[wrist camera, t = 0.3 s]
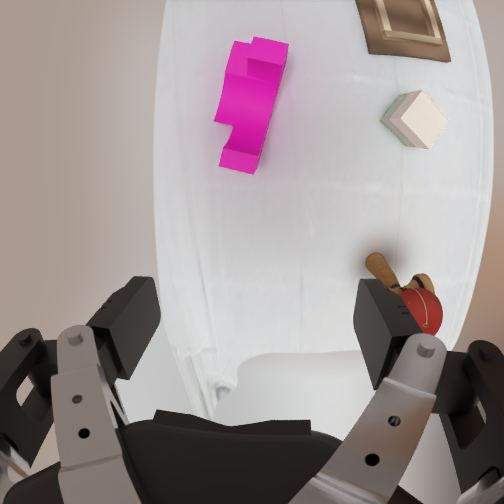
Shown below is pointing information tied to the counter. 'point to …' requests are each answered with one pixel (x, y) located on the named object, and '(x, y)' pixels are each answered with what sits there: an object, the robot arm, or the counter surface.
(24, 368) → the robot arm
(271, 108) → the toy block
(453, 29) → the counter surface
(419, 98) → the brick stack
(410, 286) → the kendama
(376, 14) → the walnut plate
